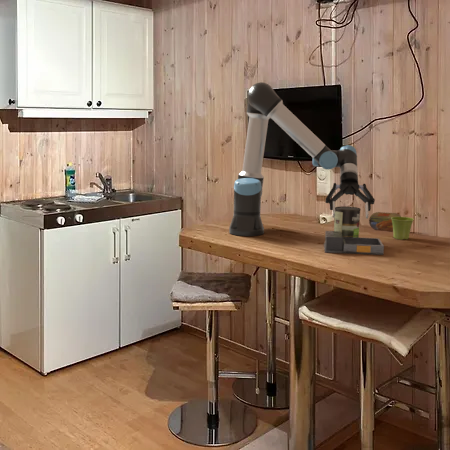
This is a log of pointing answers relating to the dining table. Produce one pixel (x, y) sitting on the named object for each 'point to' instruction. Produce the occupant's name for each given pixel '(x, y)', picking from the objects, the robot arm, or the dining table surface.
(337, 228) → the coffee can
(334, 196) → the robot arm
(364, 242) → the grey tray
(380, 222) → the tin
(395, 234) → the plant pot
